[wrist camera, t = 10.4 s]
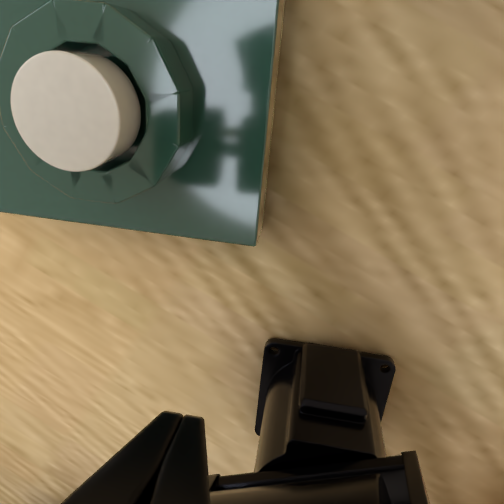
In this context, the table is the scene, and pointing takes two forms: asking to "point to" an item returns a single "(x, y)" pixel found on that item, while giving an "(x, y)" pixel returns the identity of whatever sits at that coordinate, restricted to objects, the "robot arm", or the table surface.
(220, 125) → the control block
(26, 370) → the table surface
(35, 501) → the table surface
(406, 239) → the table surface
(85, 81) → the button
